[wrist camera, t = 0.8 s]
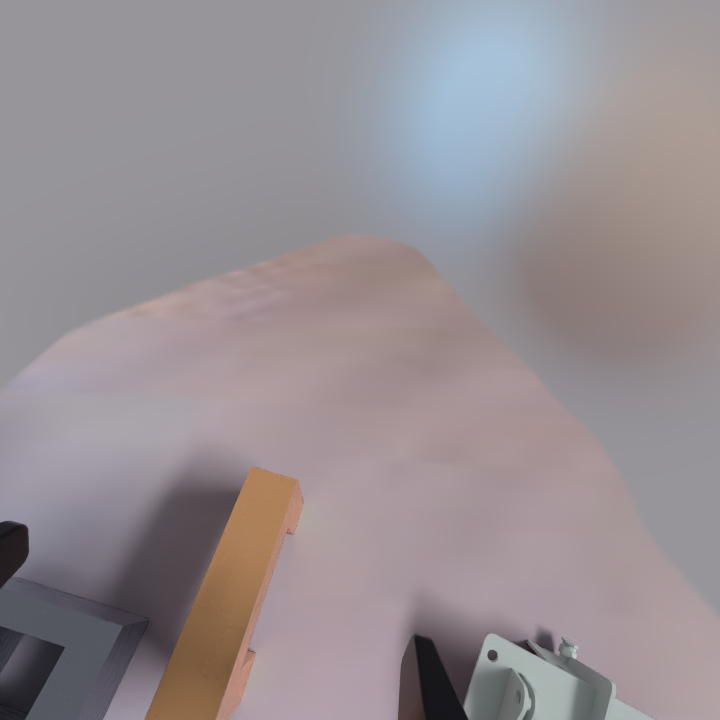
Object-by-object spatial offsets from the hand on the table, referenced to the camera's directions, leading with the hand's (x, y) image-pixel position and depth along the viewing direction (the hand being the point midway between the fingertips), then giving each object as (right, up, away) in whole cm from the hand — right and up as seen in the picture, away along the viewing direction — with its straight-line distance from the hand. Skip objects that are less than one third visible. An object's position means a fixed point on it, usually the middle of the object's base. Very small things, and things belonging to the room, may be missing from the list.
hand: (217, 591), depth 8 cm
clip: (-3, -8, +13) cm, 15 cm away
